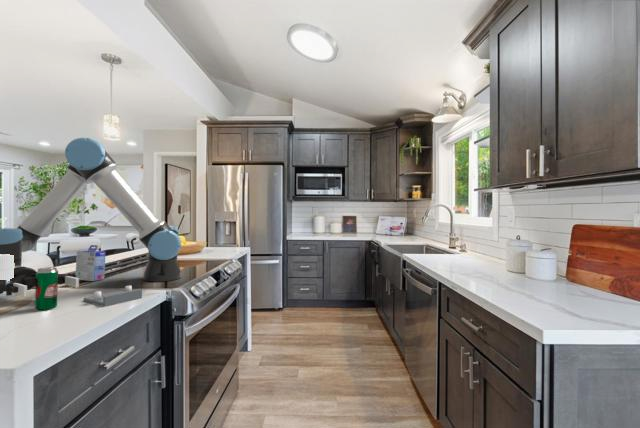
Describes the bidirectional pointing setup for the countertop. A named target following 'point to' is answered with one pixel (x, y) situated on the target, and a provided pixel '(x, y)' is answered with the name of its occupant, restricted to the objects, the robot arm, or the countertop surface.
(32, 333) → the countertop surface
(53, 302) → the soda can
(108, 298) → the dock
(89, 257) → the ink cartridge box
